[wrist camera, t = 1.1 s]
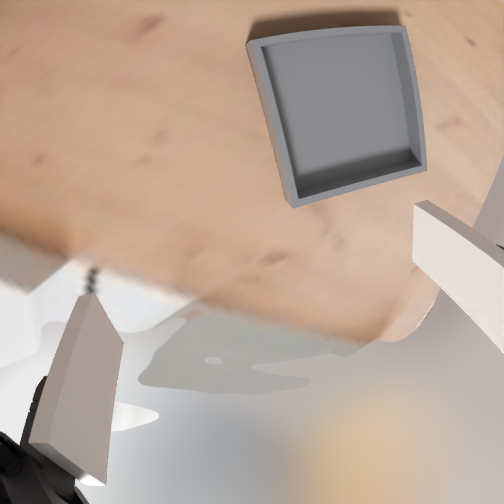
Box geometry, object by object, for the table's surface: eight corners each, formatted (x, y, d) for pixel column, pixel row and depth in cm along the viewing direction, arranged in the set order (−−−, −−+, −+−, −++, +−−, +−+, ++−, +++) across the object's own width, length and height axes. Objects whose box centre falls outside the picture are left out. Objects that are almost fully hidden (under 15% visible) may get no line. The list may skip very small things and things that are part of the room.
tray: (245, 45, 27) (250, 40, 25) (391, 28, 28) (405, 25, 25) (285, 199, 36) (292, 208, 33) (413, 164, 36) (427, 170, 34)
